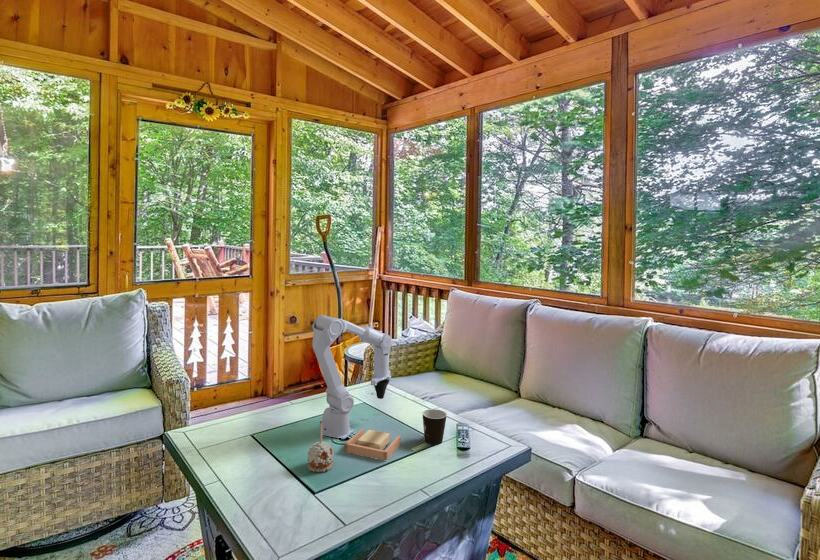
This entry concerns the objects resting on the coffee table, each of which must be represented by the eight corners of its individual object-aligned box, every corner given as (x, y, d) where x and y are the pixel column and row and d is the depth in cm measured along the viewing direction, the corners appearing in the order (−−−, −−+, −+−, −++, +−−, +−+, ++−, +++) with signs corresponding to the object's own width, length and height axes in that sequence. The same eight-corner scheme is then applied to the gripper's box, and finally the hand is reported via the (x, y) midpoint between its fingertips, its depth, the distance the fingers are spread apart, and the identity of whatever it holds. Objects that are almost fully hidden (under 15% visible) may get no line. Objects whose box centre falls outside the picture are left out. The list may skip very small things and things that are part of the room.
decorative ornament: (321, 476, 138) (321, 428, 137) (302, 468, 142) (302, 421, 141) (338, 465, 145) (339, 419, 143) (319, 458, 149) (320, 413, 147)
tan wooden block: (357, 451, 154) (357, 440, 154) (368, 440, 163) (369, 429, 162) (379, 456, 152) (379, 444, 151) (389, 444, 160) (390, 433, 160)
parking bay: (344, 452, 153) (344, 443, 153) (361, 436, 165) (361, 428, 165) (386, 461, 148) (386, 452, 148) (400, 444, 160) (400, 436, 160)
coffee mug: (443, 447, 159) (445, 419, 158) (419, 444, 161) (420, 417, 160) (447, 433, 171) (449, 407, 170) (425, 430, 172) (426, 405, 171)
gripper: (383, 370, 169) (382, 406, 170) (397, 360, 182) (396, 393, 184) (366, 367, 171) (365, 403, 173) (381, 358, 185) (380, 391, 186)
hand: (380, 398), depth 178 cm, fingers closed
